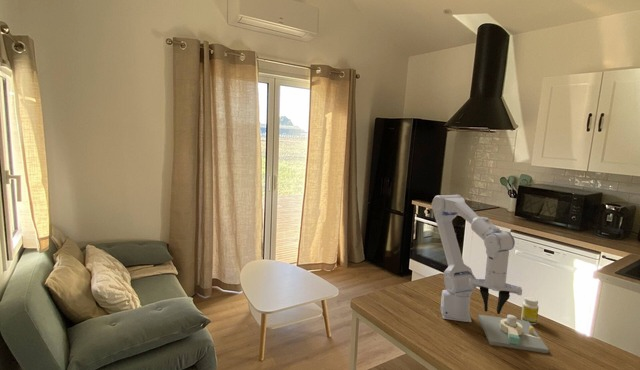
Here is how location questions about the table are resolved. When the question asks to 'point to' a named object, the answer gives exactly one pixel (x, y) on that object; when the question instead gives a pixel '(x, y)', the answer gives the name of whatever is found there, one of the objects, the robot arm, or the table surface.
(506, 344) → the post board
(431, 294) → the table surface
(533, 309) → the supplement bottle
